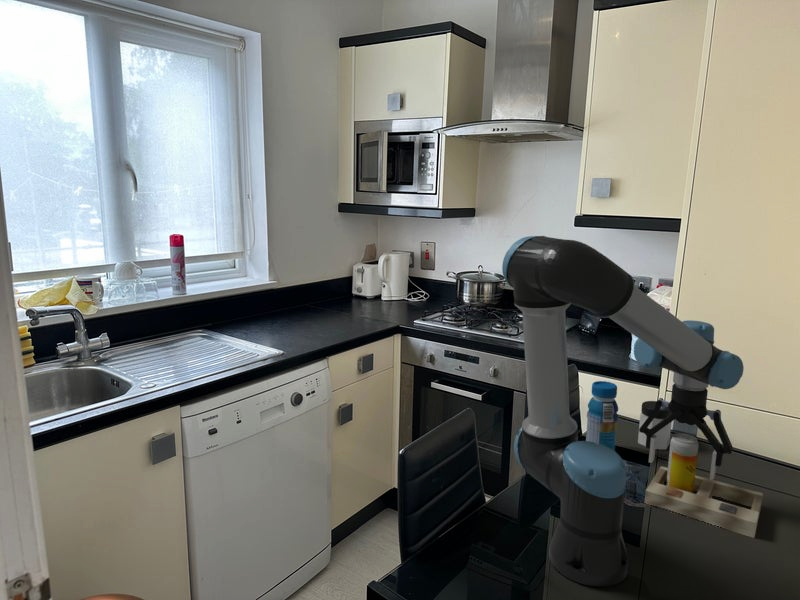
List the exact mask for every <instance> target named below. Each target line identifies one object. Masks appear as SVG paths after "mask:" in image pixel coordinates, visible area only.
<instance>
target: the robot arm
mask: <svg viewBox="0 0 800 600" xmlns="http://www.w3.org/2000/svg"><path fill="white" fill-rule="evenodd" d="M501 265H502V266H501V270H502V275H503V278H504V281H505V282H506V283H507V284H508V285H509V286H510V288H512V290H513V300H514V301H513V302H514V306H515V307H516V308H517V309H519V310H520V312H521V313H522V327H523V328H522V329H523V344H524V345H523V346H524V347H523V348H524V359H525V360H524V361H525V379H526V394H527V395H526V396H527V397H526V399H527V408H528V409H527V411H528V413H527V415H528V416H527V417H526V418H525V419H524V420H523V421H522V423H521V427H520V428H519V430H518V432H519V433H518V434H516V435H515V438H514V443H513V452H514V455H515V458H516V461H517V462H518V464H519V465H520V466H521V468H522V469H523V470H524V471H525V472H526V473H527V474H528V476H529V475H530V476H531V477H532V478H533V479H535V480H536V481H537V482H539V483H540V484H541V485H542V486H544V487H545V488H546V489H548V490H549V491H550V492H552V493H553V495H555V496H556V497H557V498H559V500H560V511H559V512H560V514H559V521H558V524H557V526H556V528H555V530H554V533H553V535H552V538H550V542H549V546H548V547H549V549H548V558H550V559H549V562H550V561H551V562H550V564H551V563H552V564H551V566H553V568H554V567H555V568H556V569H557V570H556V569H555V568H554V569H555V570H556V572H558V571H559V572H560V574H561V575H562V576H564V577H565V578H567V579H569V580H570V581H573V582H576V583H579V584H582V585H585V586H589V587H590V586H591V587H598V588H599V587H601V588H602V587H610V586H616V585H617V584H620V583H621V582H623V581H624V580H625V579H626V578H627V576H628V572H629V555H628V551H627V548H626V543H625V541H624V537H623V533H622V530H623V529H622V527H623V516H624V508H625V498H626V488H627V483H628V482H627V481H628V480H627V477H626V475H627V474H626V473H627V472H626V471H627V469H626V463H625V461H624V460H623V458H622V457H621V455H619V454H618V452H616V450H615V451H613V450H612V449H610V448H609V447H606V446H604V445H602V444H600V445H597V444H596V443H595V442H590V441H586V440H579V436H578V435H579V432H578V423H577V421H576V419H574V418H573V417H571V416H570V396H569V394H570V393H569V372H568V371H569V370H568V346H567V343H568V342H567V323H566V321H567V319H566V310H567V309H568V308H569V307H570V306H571V305H573V306H576V307H580V308H581V309H582V308H583V309H585V310H587V311H589V312H590V313H592V314H594V315H595V316H597V317H598V318H603V319H604V318H606V319H607V318H609V319H610V320H612V321H613V322H614V323H616V324H617V325H619V326H620V327H622V328H623V329H624V330H625V331H628V332H629V333H630V334H632V335H633V336H635V337H636V338H637V339H636V340H635V342H634V344H633V356H634V359H635V361H636V362H637V363H638V364H639V366H641V367H643V368H645V369H657V368H661V369H665V370H668V371H670V372H673V378H672V382H673V384H672V386H671V396H670V401H667V400H664V398H663V397H659V398H658V399H657V400H656V401H657V402H656V405H655V409H654V410H653V411H652V413H651V414H650V415H649V417H648V418H647V419H646V421H645V422H644V423H643V425H642V426H641V427H640V429H639V428H638V432H639V431H640V432H641V433H644V434H646V436H647V437H646V447H645V448H646V449H649V453H648V454H649V455H648V464H649V463H650V464H652V463H653V462H654V460H655V458H656V457H655V455H656V449H655V448H656V438H657V435H654V434H655V433H656V432H658V431H659V430H661V429H662V428H663V427H665V426H666V425H667V424H669V423H671V424H672V422H674V421H676V422H678V424H679V423H680V424H687V425H689V426H695V425H696V427H697V428H698V430H700V432H701V433H702V434H703V435H704V437H705V438H706V440H707V441H708V442H709V444H710V445H711V446H712V448H713V452H712V455H711V465H710V471H709V472H710V473H709V479H711V480H714V479H715V477H716V472H717V470H716V469H717V467H721V465H722V464H723V457H724V454H728V455H731V453H732V452H733V449H734V447H733V444H732V442H731V440H730V437H729V436H728V433H727V431H726V427H725V426H724V423H723V421H722V412H721V410H720V409H715V410H712V409H711V410H709V409H708V408H707V401H708V392H709V390H708V389H707V388H708V387H709V386H710V387H713V388H714V387H715V388H719V389H722V390H729V389H732V388H734V387H736V386H737V385H738V384H739V382H740V380H741V378H742V377H743V375H744V369H745V368H744V363H743V360H742V359H741V357H740V356H738V355H737V354H734V353H731V352H730V351H729V350H722V349H720V348H718V347H716V346H715V345H714V344H715V328H714V326H713V324H711V323H710V322H705V321H699V320H693V319H692V320H691V319H690V320H683V321H682V320H681V319H679V318H678V317H676V315H674V314H672V313H671V312H670V311H669V310H667V309H666V308H665V307H663V306H662V305H661V304H659V303H658V302H657V301H655V299H653V298H651V297H650V296H649V295H648V294H647V293H645V292H643V290H641V289H640V288H639V287H637V286H636V285H635V284H636V282H635V280H634V277H633V276H632V275H631V274H630V273H628V271H625V270H624V268H622V267H620V266H619V265H618V264H617V263H615V262H614V261H613V260H611V259H610V258H609V257H607V256H605V255H604V254H603V253H602V252H600V251H598V250H597V249H596V248H594V247H592V246H591V245H589V244H587V243H584V242H582V241H579V240H574V239H564V238H557V237H551V236H550V237H549V236H545V235H532V236H531V235H530V236H525V237H521V238H520V239H518V240H517V241H515V242H514V243H512V245H510V247H509V249H507V251H506V253H505V255H504V257H503V260H502V264H501ZM665 407H668V408H669V410H670V412H671V414H670V415H669V416H667V417H666V418H665V419H663V420H662V421H661V422H659V423H658V424H657V425H655V426H654V427H652V428H651V429H649V428H647V427H648V426H649V425H650V423H651V422H652V421H653V419H654V418H655V417H656V415H657V414H658V413H659V411H660V410H661V409H664V408H665ZM707 416H708V417H709V420H711V421H713V424H714V427H715V429H716V432H717V434H718V437H719V439H720V441H719V439H718V438H717V436H716V435H715V433H714V432H713V431H712V429H711V428H710V427H709V426H708V424H707V422H706V420H705V419H704V418H705V417H707ZM559 572H558V573H559Z"/></svg>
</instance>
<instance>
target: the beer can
mask: <svg viewBox="0 0 800 600" xmlns="http://www.w3.org/2000/svg"><path fill="white" fill-rule="evenodd" d="M699 447H700V445H699V442H698V439H697V438H696V437H695V436H693V435H691V434H688V433H681V432H680V433H678V432H677V433H674V434H673V435H672V437H670V441H669V454H668V464H667V468H668V472H667V483H666V486H669V487H673V488H676V489H680V490H683V491H687V492H690V493H694V492H695V491H694V484H695V475H696V472H697V464H698V455H699ZM694 494H695V493H694Z"/></svg>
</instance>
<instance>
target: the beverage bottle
mask: <svg viewBox="0 0 800 600" xmlns="http://www.w3.org/2000/svg"><path fill="white" fill-rule="evenodd" d="M617 395H618V386H617V385H616V383H613V382H610V381H605V380H604V381H603V380H598V381H594V382H592V385H591V396H592V397H591V398H590V400H589V402H588V403H587V407H588V410H587V413H586V418H587V422H586V437H585V441H590V442H595V443H596V444H597V445H600V444H602V445H604V446H606V447H609V448H610V449H612V450H613V451H615V452H616V435H617V426H618V421H619V415H618V411H619V406H618V405H619V404H618V403H617V401H616V398H617Z"/></svg>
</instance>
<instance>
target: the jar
mask: <svg viewBox="0 0 800 600" xmlns="http://www.w3.org/2000/svg"><path fill="white" fill-rule="evenodd" d="M656 402H657V400H648V401H647V400H646V401H643V402H642V404H641V410H640V411H641V412H640V415H639V425H638V426H639V427H638V437H637V443H638V444H639V445H642V446H643V447H645V448H646V437H647V436H646V434H644V433H641V432H640V431H639V429H640V427H641V426H642V425H643V423H644V422H645V421H646V419H647V418H648V417H649V415H650V414H651V413H652V411H653V410H654V409H655V405H656ZM670 414H671V412H670V410H669V408H668V407H665V408H664V409H661V410H660V411H659V413H658V414H657V415H656V417H655V418H654V419H653V421H652V422H651V423H650V425H649V426H648V427H647V428H649V429H651V428H652V427H654V426H655V425H657V424H658V423H659V422H661V421H662V420H663V419H665V418H666V417H667V416H669V415H670ZM671 430H672V422H671V423H669V424H667V425H666V426H665V427H663V428H662V429H661V430H659V431H658V432H656V433H655V434H654V435H657V438H656V448H655V450H661V451H662V450H664V451H665V450H667V449H668V447H669V446H670V441H671Z"/></svg>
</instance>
